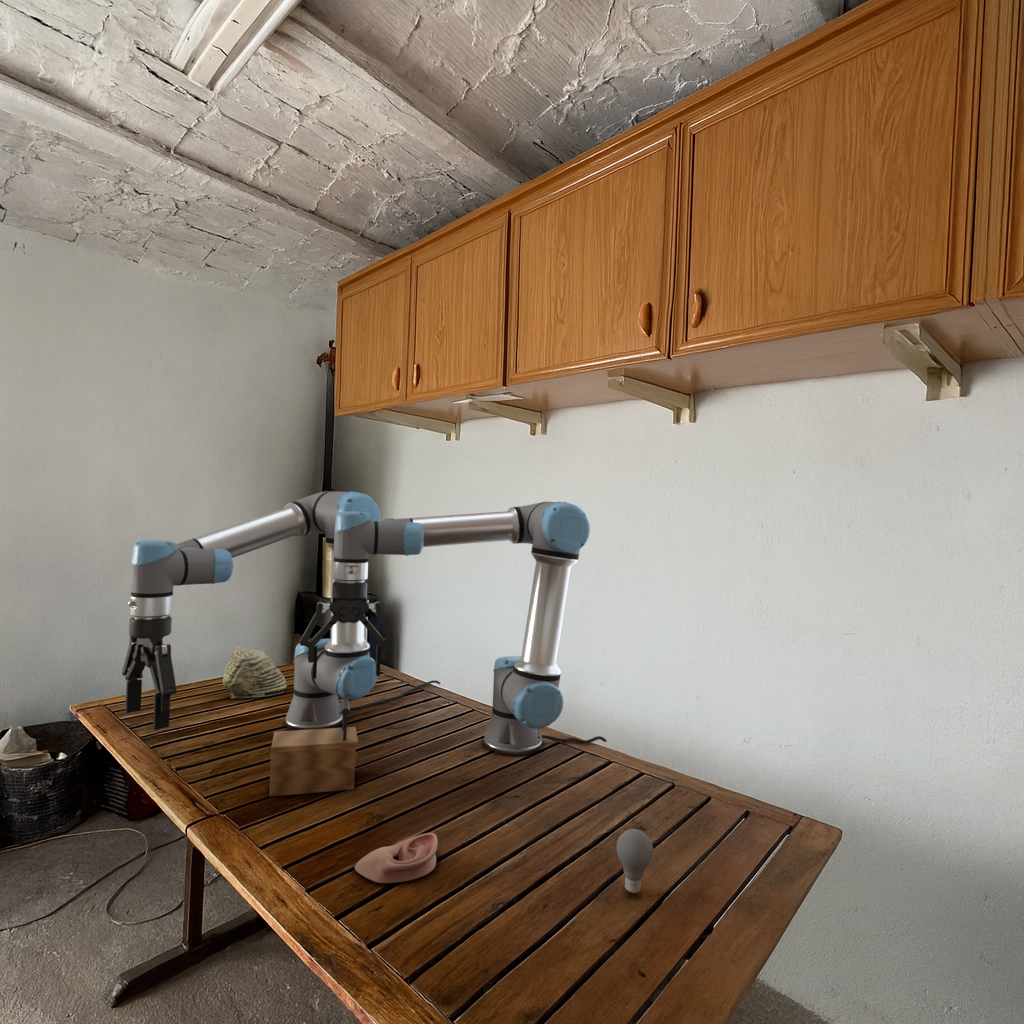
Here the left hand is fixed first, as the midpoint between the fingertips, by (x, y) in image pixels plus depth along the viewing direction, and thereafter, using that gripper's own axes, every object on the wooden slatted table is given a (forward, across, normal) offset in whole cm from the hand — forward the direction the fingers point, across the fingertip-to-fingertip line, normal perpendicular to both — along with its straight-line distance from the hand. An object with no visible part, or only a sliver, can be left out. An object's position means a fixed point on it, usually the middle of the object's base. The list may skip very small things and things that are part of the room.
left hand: (146, 719), depth 130 cm
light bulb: (+16, +90, +41) cm, 100 cm away
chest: (+16, +18, +28) cm, 37 cm away
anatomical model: (+16, +56, +19) cm, 61 cm away
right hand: (-8, +22, +32) cm, 40 cm away
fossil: (+16, -46, +50) cm, 70 cm away
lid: (+7, +19, +28) cm, 34 cm away
